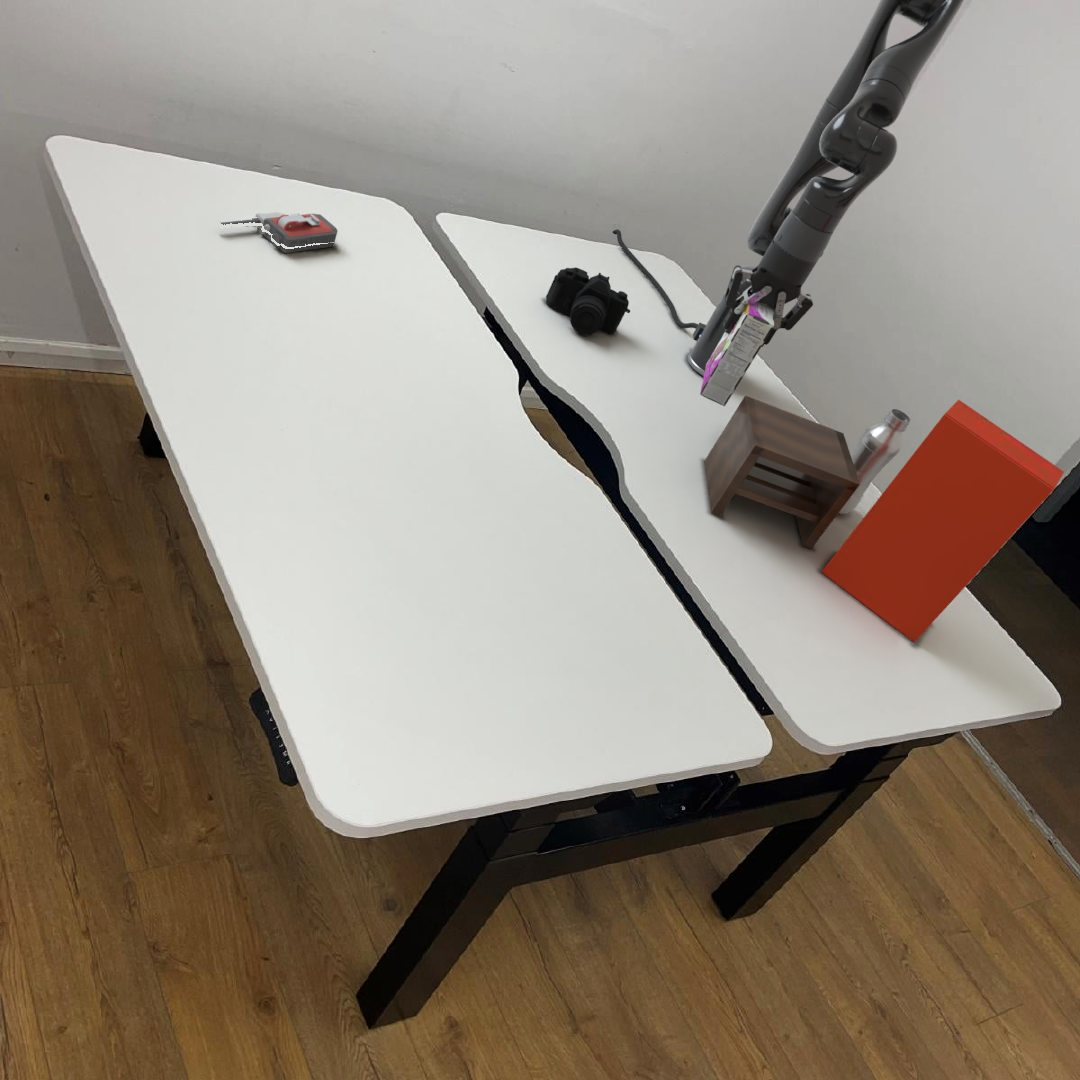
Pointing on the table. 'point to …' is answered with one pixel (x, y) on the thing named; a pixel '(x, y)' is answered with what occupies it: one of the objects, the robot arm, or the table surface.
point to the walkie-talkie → (295, 230)
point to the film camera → (587, 301)
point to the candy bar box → (736, 352)
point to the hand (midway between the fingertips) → (743, 337)
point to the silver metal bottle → (876, 452)
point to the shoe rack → (782, 466)
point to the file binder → (941, 520)
